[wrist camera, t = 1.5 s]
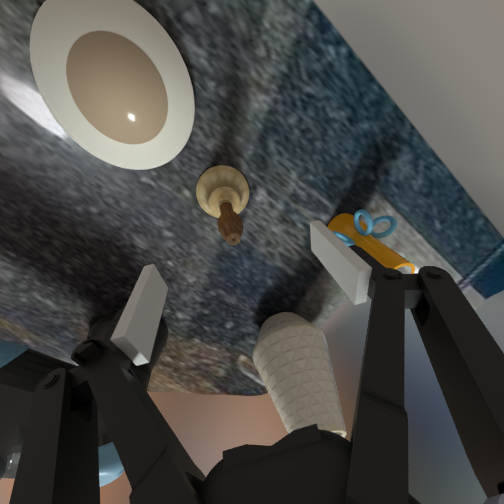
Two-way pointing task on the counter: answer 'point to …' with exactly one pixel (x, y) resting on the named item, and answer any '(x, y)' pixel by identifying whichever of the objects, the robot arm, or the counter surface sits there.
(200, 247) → the counter surface
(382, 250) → the cylinder
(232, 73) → the counter surface
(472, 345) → the robot arm
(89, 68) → the hub plate
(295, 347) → the vase
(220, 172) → the hand bell
